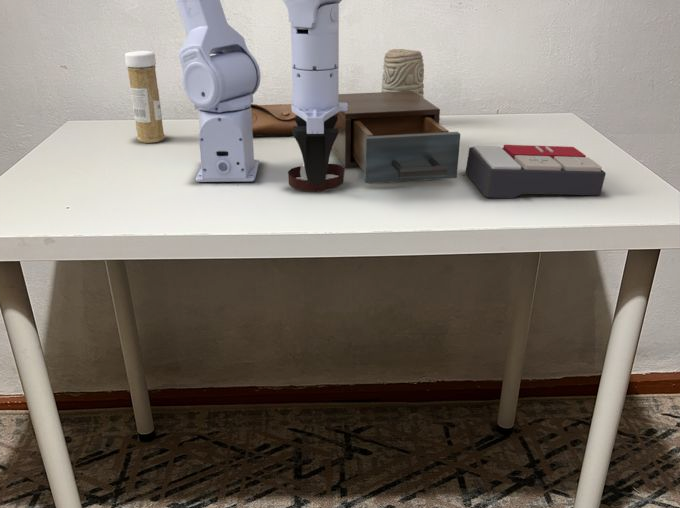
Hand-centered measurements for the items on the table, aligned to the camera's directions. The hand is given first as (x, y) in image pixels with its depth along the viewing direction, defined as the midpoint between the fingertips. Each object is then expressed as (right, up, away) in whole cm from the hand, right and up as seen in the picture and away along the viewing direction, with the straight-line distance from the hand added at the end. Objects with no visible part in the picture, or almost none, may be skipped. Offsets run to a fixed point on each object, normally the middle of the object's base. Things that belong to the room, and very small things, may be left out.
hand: (316, 176), depth 93 cm
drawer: (+12, +1, +3) cm, 12 cm away
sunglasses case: (-5, +14, +27) cm, 31 cm away
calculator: (+28, -1, +1) cm, 29 cm away
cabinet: (+10, +7, +15) cm, 19 cm away
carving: (+15, +17, +31) cm, 38 cm away
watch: (0, -1, +1) cm, 2 cm away
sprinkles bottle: (-27, +11, +23) cm, 38 cm away
